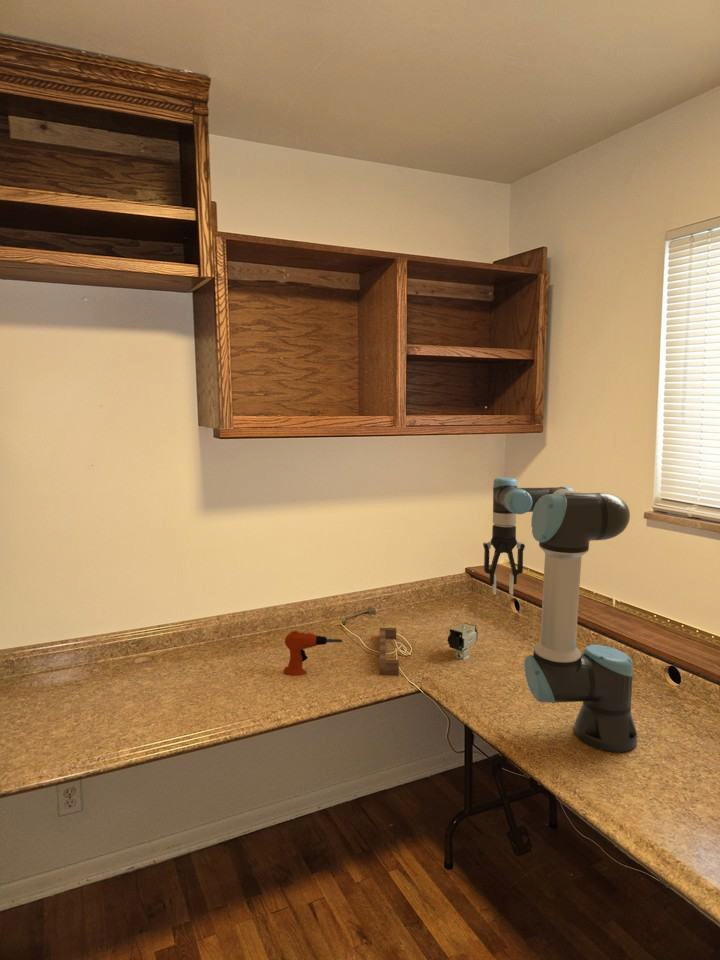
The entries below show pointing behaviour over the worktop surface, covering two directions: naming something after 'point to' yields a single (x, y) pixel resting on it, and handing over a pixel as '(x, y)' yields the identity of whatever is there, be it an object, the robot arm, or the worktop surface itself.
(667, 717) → the worktop surface
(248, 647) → the worktop surface
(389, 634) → the stop
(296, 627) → the worktop surface
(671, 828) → the worktop surface
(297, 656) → the toy drill
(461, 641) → the pneumatic valve
